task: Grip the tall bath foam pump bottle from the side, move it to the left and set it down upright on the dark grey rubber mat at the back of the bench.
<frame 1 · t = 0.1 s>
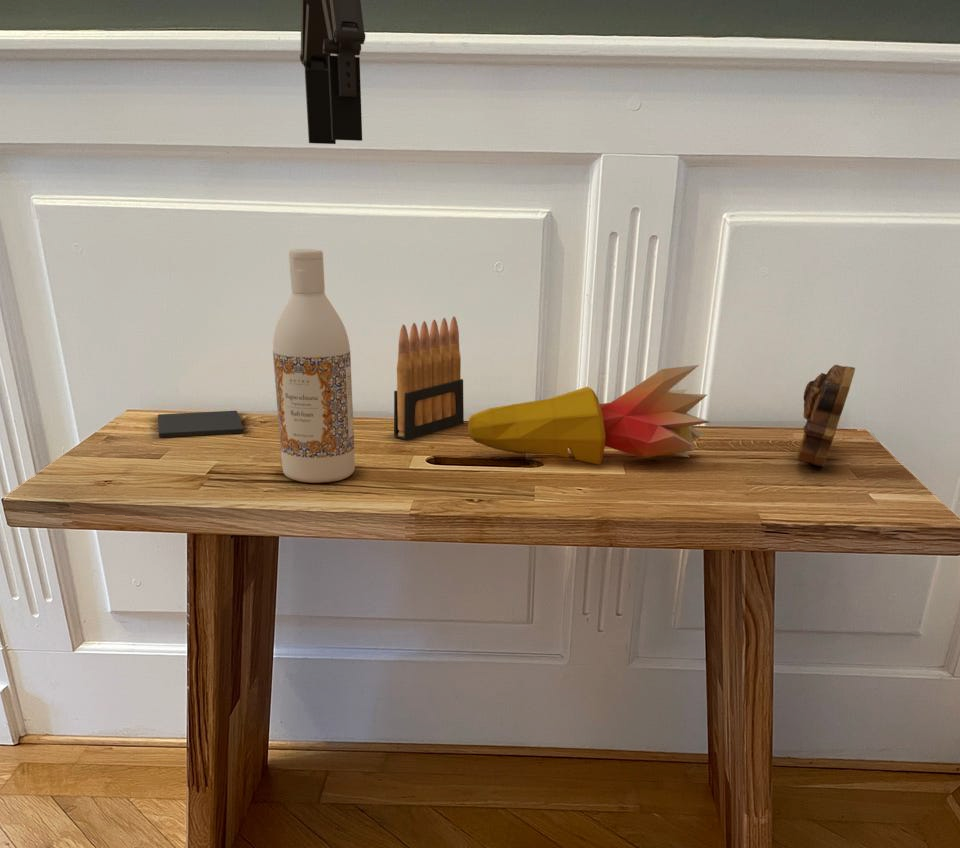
hand: (333, 142, 89), 29 cm above the table, tool pointing down, fingers open, 13 cm apart
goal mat: (200, 425, 104), on the table
wooden carving: (813, 464, 96), on the table
torch: (587, 459, 95), on the table
bath foam: (319, 475, 88), on the table
ammunition clip: (429, 431, 104), on the table
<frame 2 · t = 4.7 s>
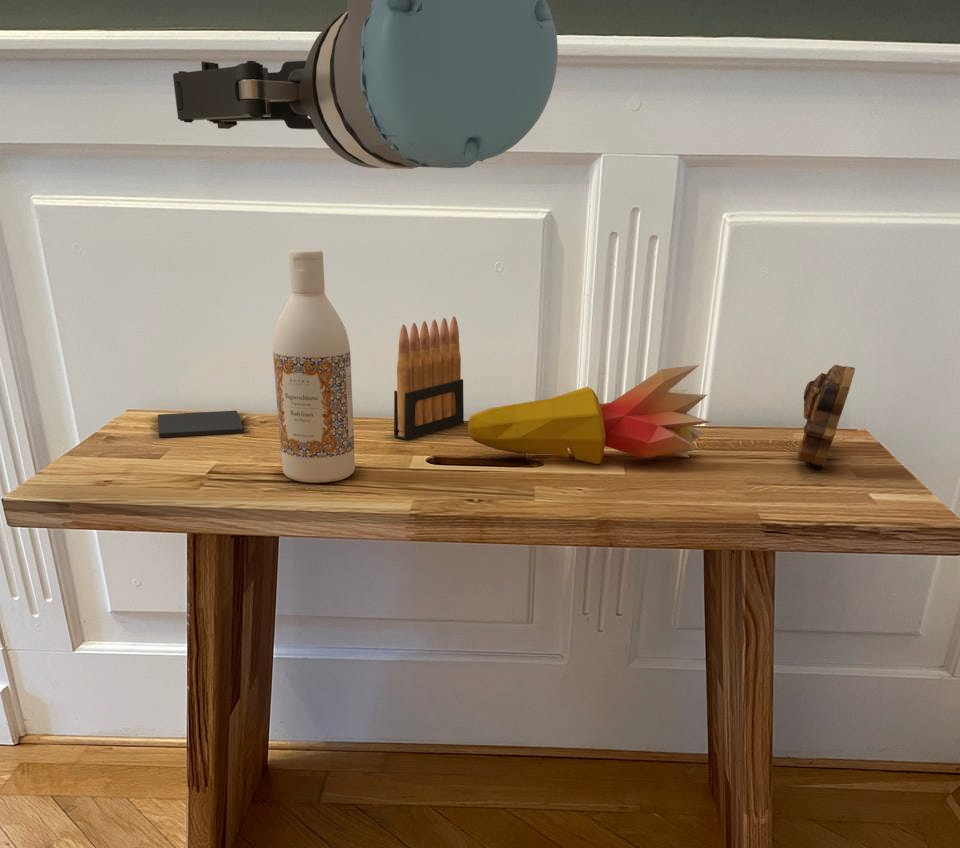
hand: (318, 110, 66), 30 cm above the table, tool horizontal, fingers open, 13 cm apart
nothing on the table moved.
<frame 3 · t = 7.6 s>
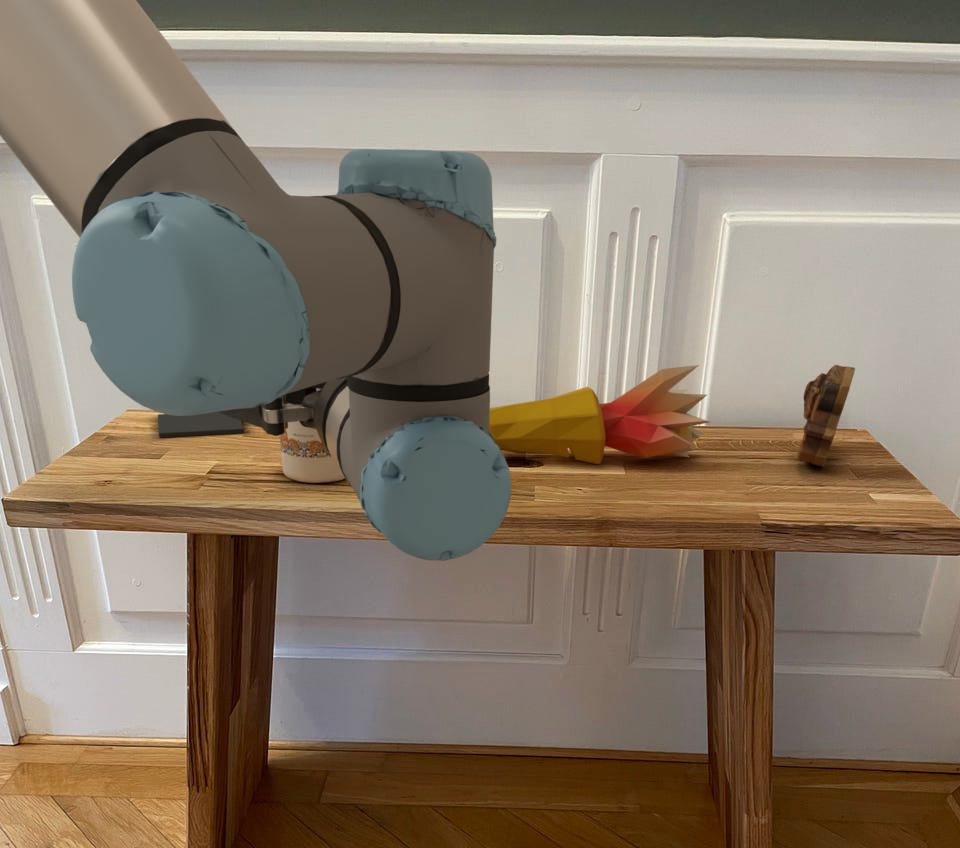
hand: (326, 367, 76), 11 cm above the table, tool horizontal, fingers open, 13 cm apart
nothing on the table moved.
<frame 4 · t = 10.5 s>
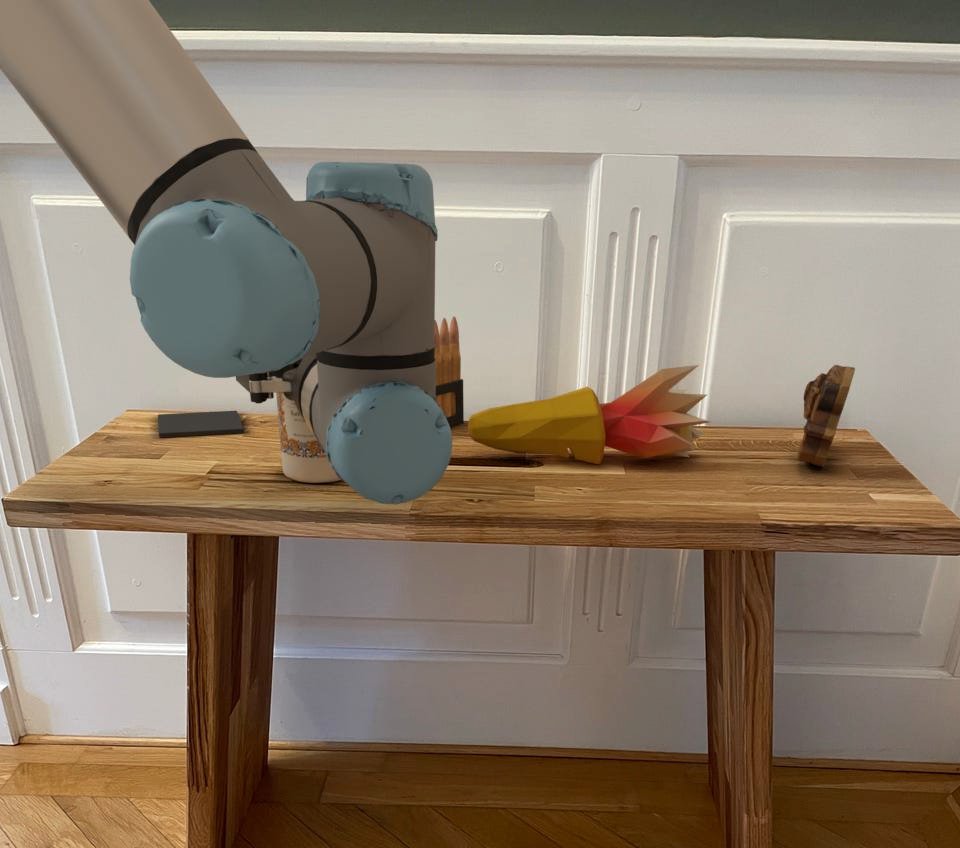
hand: (304, 348, 87), 11 cm above the table, tool horizontal, fingers closed on bath foam, 7 cm apart
bath foam: (319, 475, 88), on the table, touching gripper
everything else where it was.
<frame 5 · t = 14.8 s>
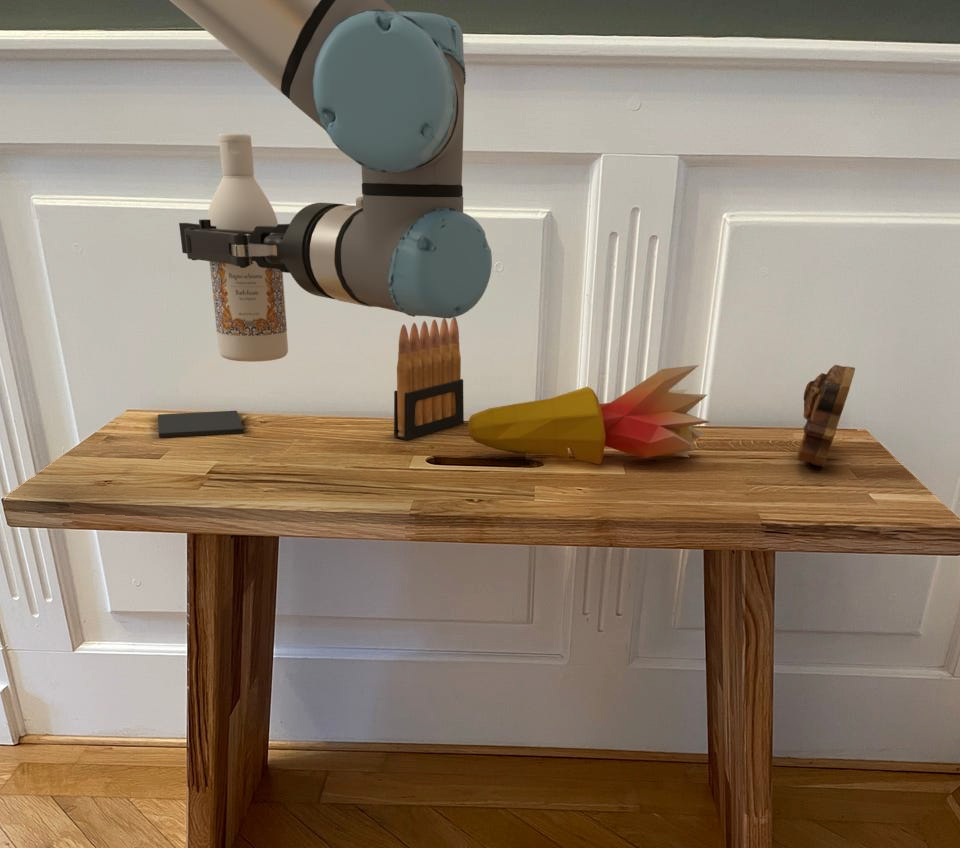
hand: (220, 237, 92), 20 cm above the table, tool horizontal, fingers closed on bath foam, 7 cm apart
bath foam: (254, 358, 93), point 9 cm above the table, touching gripper
everything else where it was.
when the fingers open (11 cm above the table, at t = 19.4 s): bath foam stays where it is, resting on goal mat.
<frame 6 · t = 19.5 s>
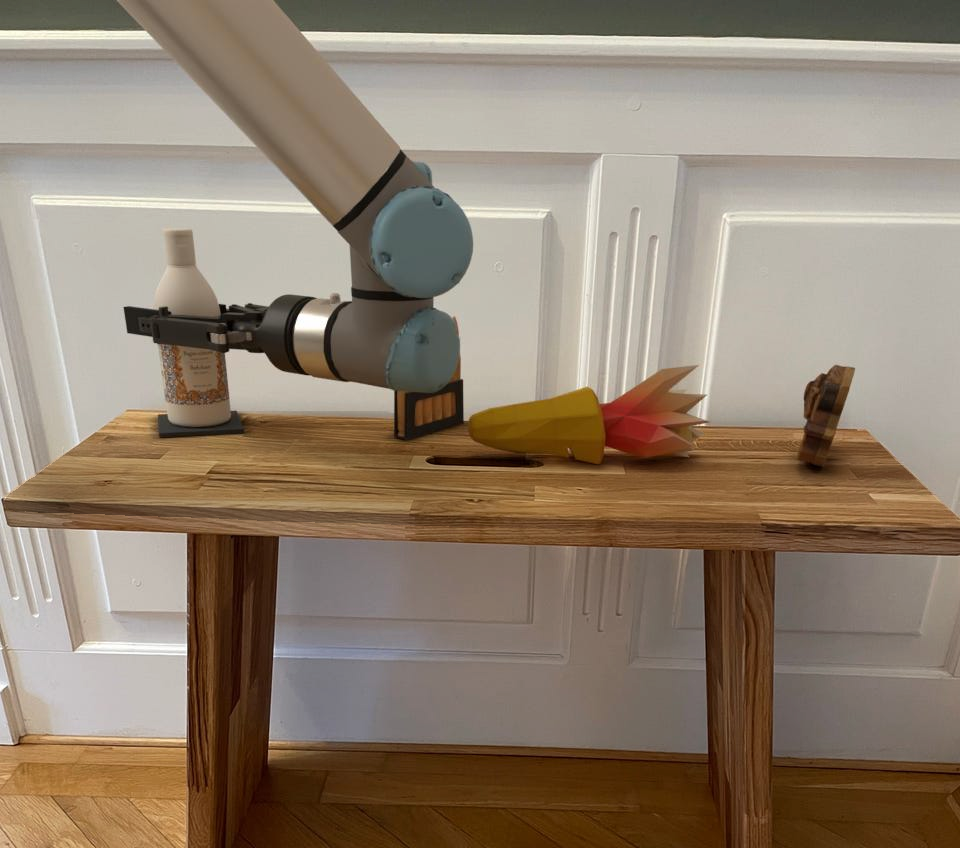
hand: (157, 316, 101), 11 cm above the table, tool horizontal, fingers open, 7 cm apart
bath foam: (200, 422, 104), resting on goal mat
everything else where it was.
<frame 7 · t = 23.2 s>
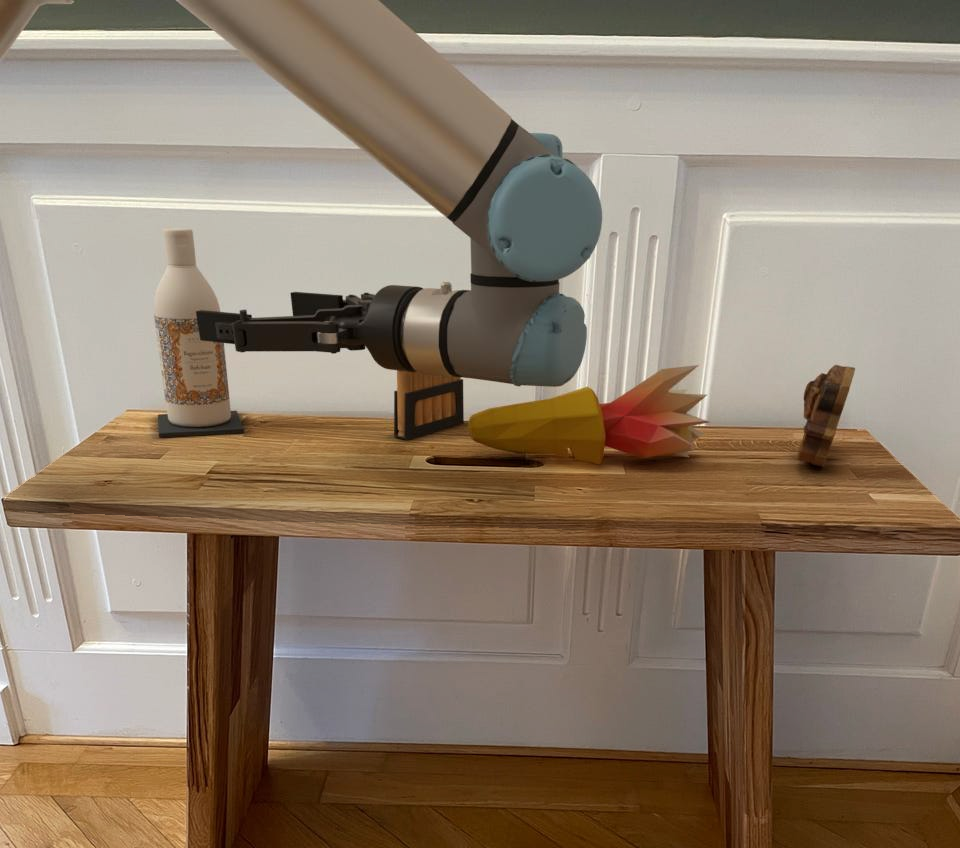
hand: (249, 314, 93), 13 cm above the table, tool horizontal, fingers open, 13 cm apart
nothing on the table moved.
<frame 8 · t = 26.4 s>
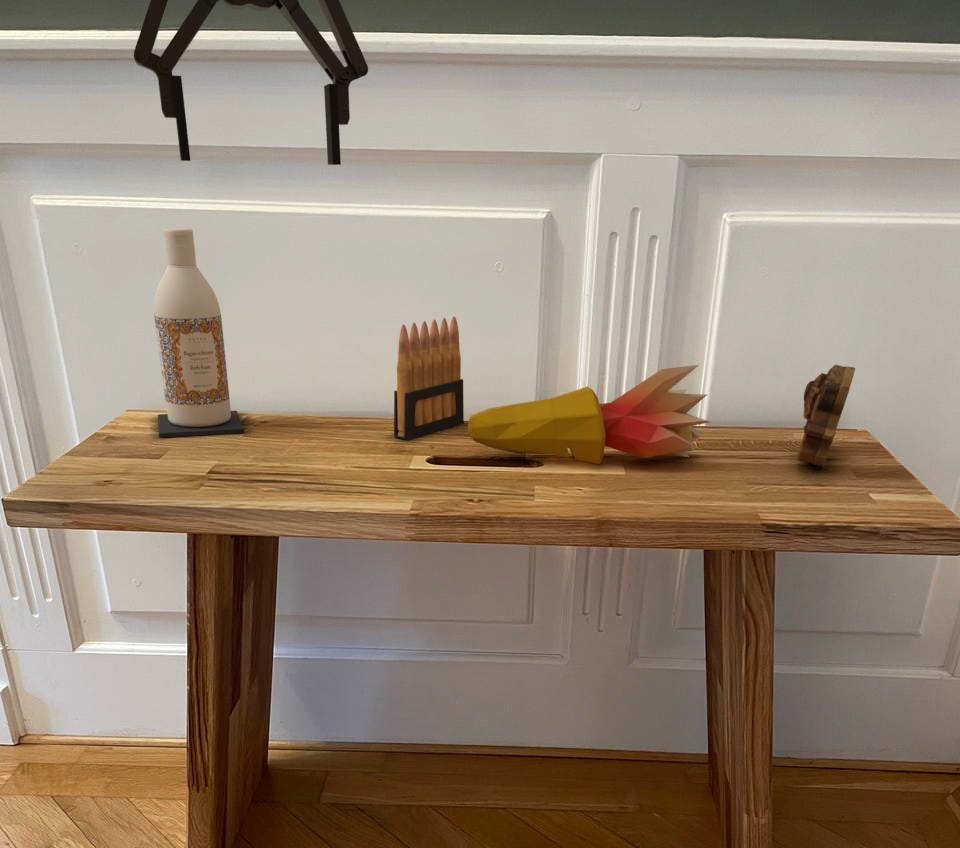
hand: (261, 163, 85), 27 cm above the table, tool pointing down, fingers open, 13 cm apart
nothing on the table moved.
at the end: bath foam inside the target area on the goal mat (0.1 cm from its centre), point 0.3 cm above the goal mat's base; bath foam tilted 0°; the gripper is holding nothing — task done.
